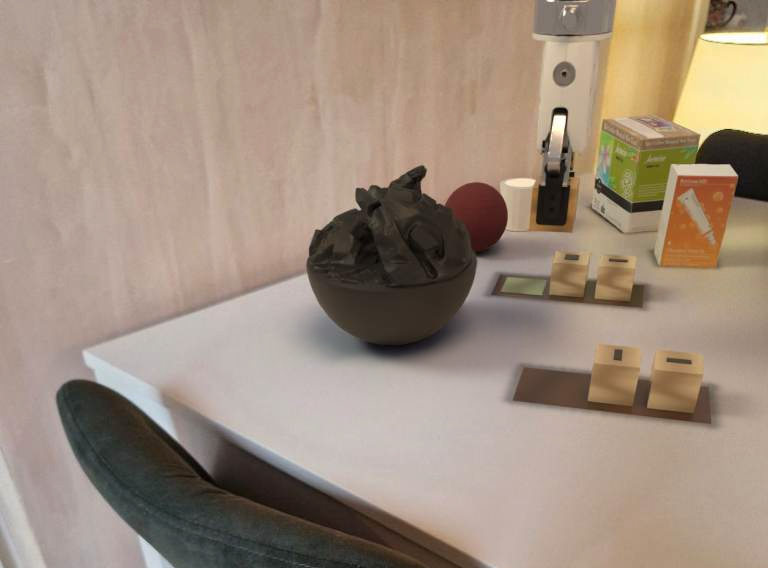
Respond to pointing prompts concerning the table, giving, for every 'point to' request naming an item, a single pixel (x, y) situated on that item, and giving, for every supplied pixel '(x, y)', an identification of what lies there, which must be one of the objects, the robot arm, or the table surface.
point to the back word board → (579, 281)
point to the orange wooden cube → (571, 208)
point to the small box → (695, 214)
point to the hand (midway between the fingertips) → (553, 215)
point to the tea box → (638, 168)
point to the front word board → (578, 393)
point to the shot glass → (517, 202)
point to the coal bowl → (392, 264)
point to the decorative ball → (480, 213)
